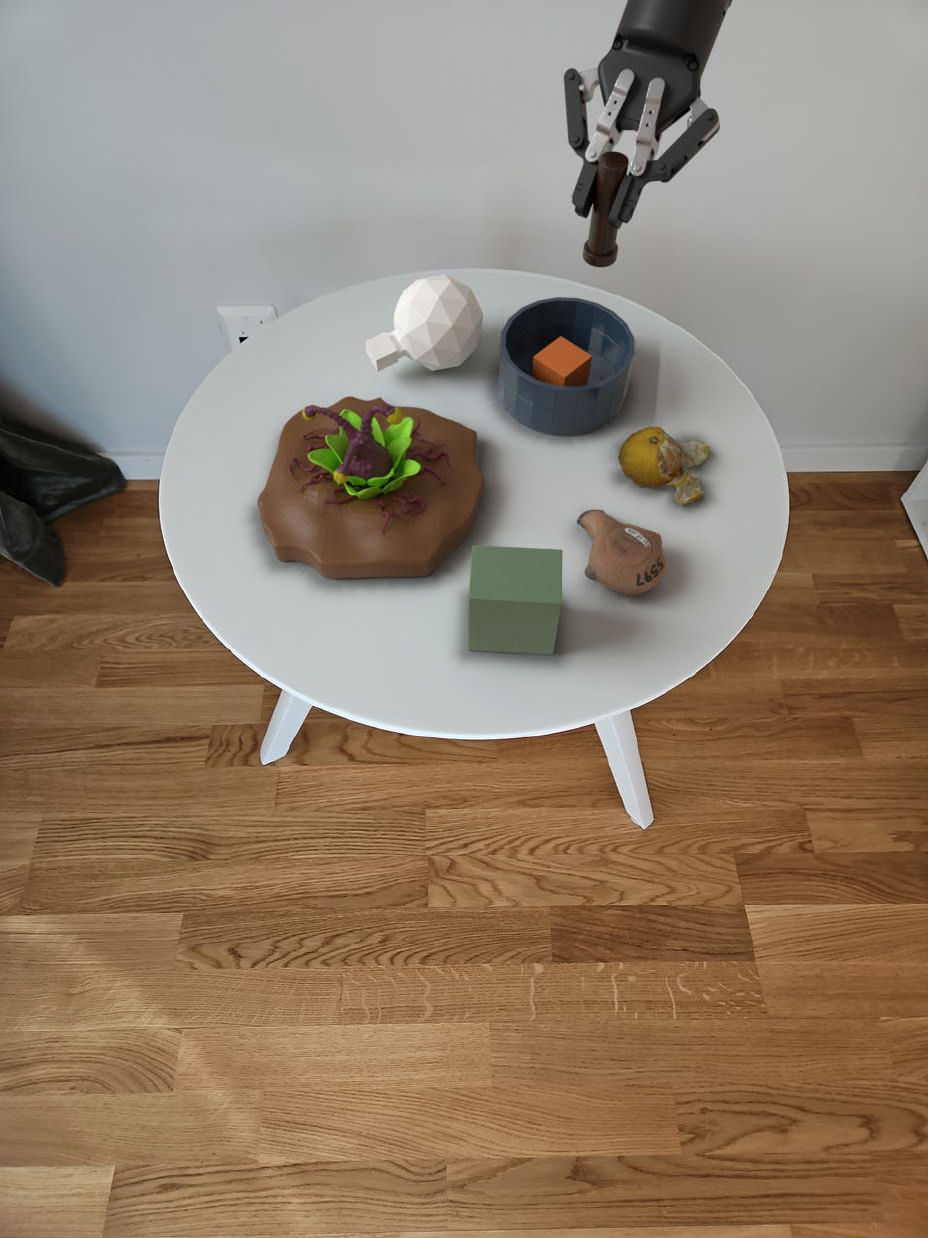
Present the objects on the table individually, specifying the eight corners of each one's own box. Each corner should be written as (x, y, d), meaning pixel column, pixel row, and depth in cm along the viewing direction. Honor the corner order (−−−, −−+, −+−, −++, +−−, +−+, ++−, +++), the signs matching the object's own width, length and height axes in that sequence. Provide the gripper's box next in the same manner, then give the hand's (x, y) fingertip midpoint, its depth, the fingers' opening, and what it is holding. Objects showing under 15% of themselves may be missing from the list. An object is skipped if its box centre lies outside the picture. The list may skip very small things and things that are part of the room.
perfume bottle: (456, 294, 94) (354, 343, 93) (459, 240, 85) (346, 293, 84) (496, 361, 93) (394, 412, 91) (504, 313, 84) (390, 369, 82)
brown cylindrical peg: (616, 246, 80) (632, 149, 73) (616, 268, 79) (633, 171, 71) (582, 245, 80) (595, 147, 73) (582, 266, 79) (595, 169, 71)
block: (557, 366, 91) (560, 335, 87) (587, 386, 89) (592, 355, 86) (530, 387, 89) (533, 356, 86) (561, 408, 88) (565, 377, 84)
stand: (553, 604, 77) (562, 549, 70) (552, 655, 74) (562, 603, 67) (471, 599, 77) (472, 544, 70) (468, 650, 74) (468, 598, 67)
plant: (461, 598, 77) (461, 518, 67) (241, 567, 79) (210, 483, 69) (497, 427, 87) (501, 336, 78) (301, 402, 89) (281, 310, 79)
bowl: (623, 347, 93) (632, 299, 88) (626, 439, 86) (637, 393, 81) (501, 342, 93) (503, 294, 88) (495, 432, 87) (497, 386, 82)
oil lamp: (664, 533, 82) (576, 521, 82) (672, 501, 78) (581, 489, 79) (660, 608, 76) (565, 594, 77) (669, 577, 73) (570, 563, 74)
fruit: (701, 511, 82) (710, 485, 79) (610, 494, 83) (615, 468, 80) (709, 444, 86) (718, 417, 83) (622, 429, 87) (628, 402, 84)
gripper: (590, -55, 68) (508, 183, 73) (767, -11, 64) (669, 235, 69) (608, -7, 75) (533, 207, 80) (770, 34, 71) (680, 256, 76)
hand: (597, 219), depth 74 cm, fingers closed on brown cylindrical peg, 2 cm apart
